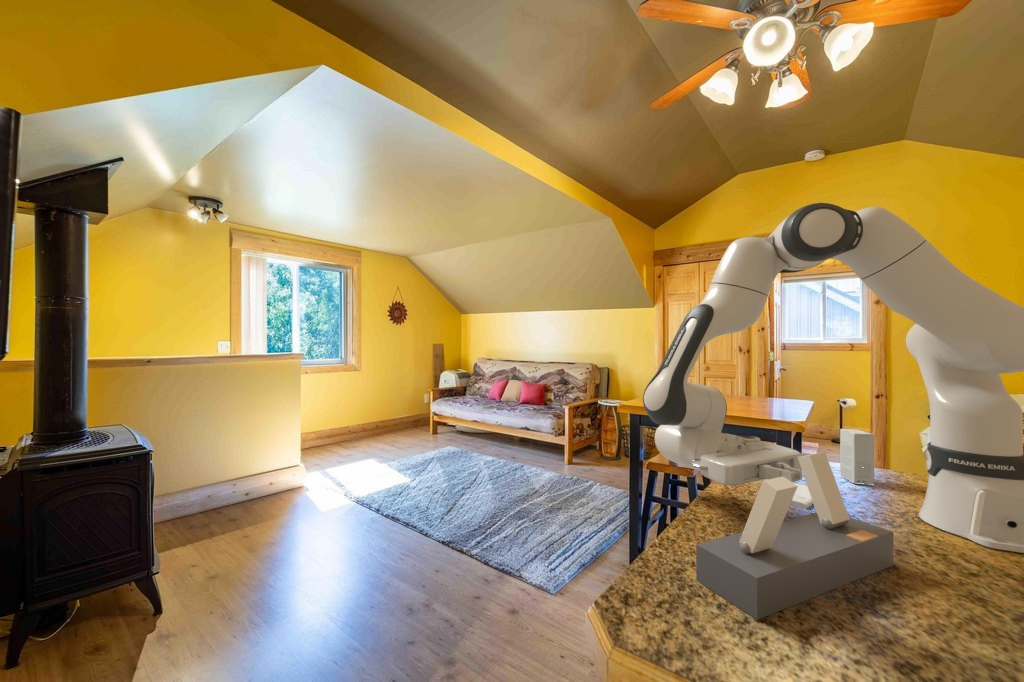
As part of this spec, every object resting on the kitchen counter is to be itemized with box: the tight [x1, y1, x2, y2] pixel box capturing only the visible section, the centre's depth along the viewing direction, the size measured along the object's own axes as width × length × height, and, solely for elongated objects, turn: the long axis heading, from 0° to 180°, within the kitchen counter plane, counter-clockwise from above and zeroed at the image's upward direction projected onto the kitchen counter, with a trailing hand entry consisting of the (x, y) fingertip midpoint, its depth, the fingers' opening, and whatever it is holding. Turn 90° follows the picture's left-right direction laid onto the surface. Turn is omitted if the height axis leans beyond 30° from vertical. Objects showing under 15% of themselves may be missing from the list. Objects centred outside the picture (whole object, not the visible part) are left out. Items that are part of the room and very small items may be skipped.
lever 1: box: [739, 477, 798, 554], centre depth 55 cm, size 2×4×11 cm, turn 114°
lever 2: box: [798, 452, 850, 529], centre depth 65 cm, size 2×4×11 cm, turn 113°
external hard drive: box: [790, 482, 814, 510], centre depth 89 cm, size 2×8×12 cm
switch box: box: [695, 512, 894, 620], centre depth 60 cm, size 9×30×5 cm, turn 114°
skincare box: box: [839, 428, 875, 485], centre depth 99 cm, size 6×4×12 cm
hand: (796, 476), depth 69 cm, fingers closed
